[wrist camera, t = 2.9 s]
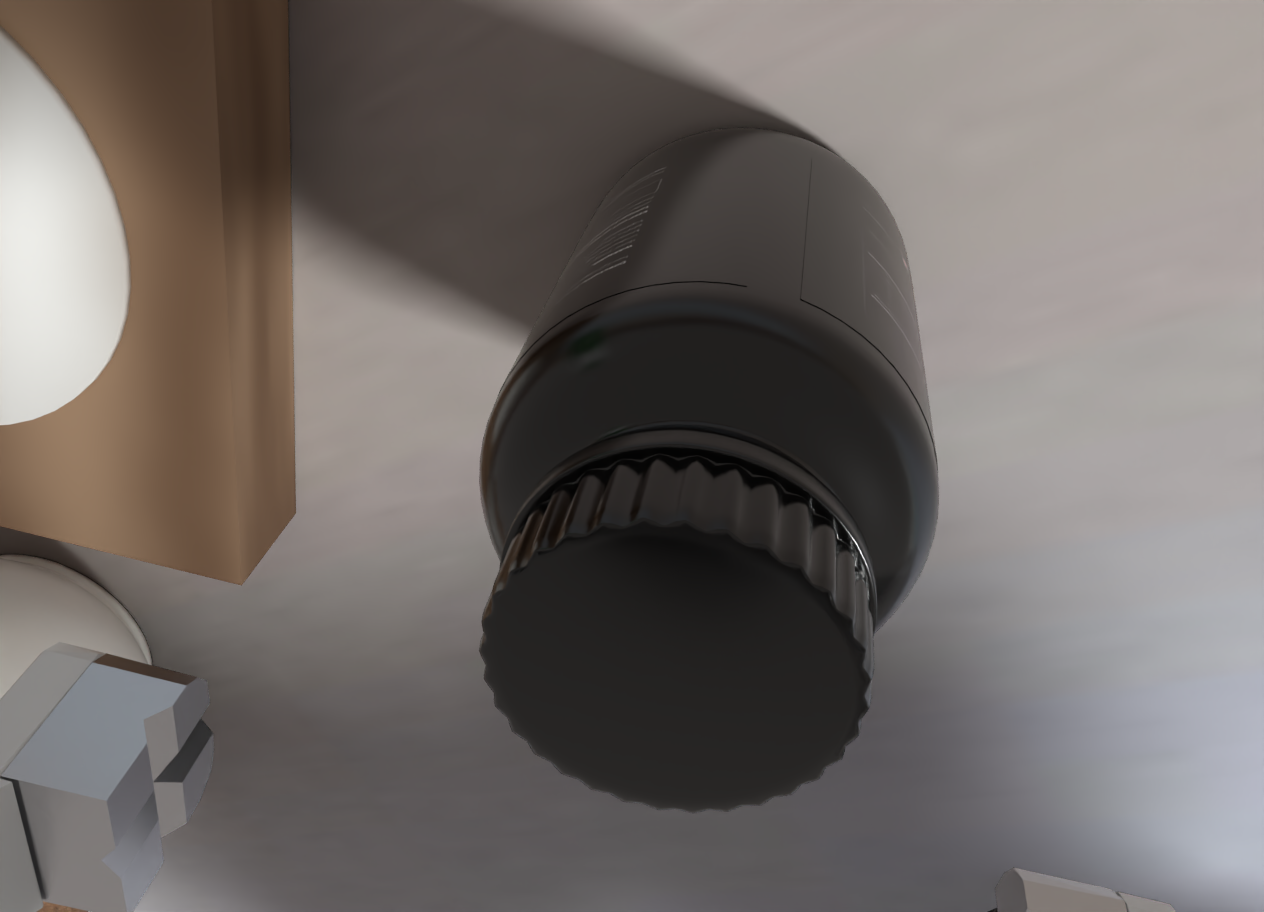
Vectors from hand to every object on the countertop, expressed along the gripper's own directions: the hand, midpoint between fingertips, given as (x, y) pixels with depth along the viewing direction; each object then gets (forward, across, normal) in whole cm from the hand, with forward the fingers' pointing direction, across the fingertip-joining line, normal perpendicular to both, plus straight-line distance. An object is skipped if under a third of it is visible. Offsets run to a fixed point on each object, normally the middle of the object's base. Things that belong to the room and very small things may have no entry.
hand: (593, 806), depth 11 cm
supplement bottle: (+14, +1, 0) cm, 14 cm away
